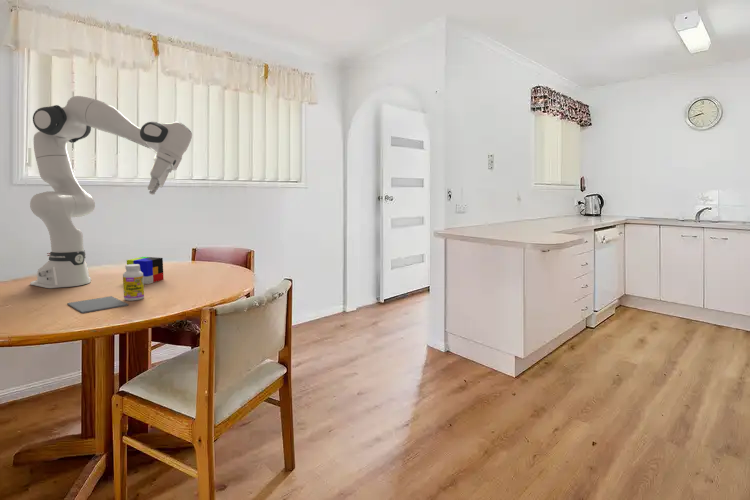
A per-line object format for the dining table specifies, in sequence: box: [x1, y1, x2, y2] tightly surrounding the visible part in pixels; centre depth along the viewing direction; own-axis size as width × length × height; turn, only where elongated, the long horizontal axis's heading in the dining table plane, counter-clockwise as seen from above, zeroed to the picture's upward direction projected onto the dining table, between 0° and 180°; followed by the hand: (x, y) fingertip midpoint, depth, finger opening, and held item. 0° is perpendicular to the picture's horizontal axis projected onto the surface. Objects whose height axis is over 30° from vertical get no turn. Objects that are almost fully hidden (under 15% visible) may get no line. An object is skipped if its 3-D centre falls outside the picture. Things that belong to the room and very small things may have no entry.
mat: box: [67, 295, 129, 314], centre depth 153 cm, size 14×16×1 cm
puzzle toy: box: [126, 256, 165, 285], centre depth 192 cm, size 10×10×10 cm
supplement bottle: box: [122, 264, 145, 302], centre depth 161 cm, size 7×7×13 cm
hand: (150, 192), depth 167 cm, fingers open, 8 cm apart
